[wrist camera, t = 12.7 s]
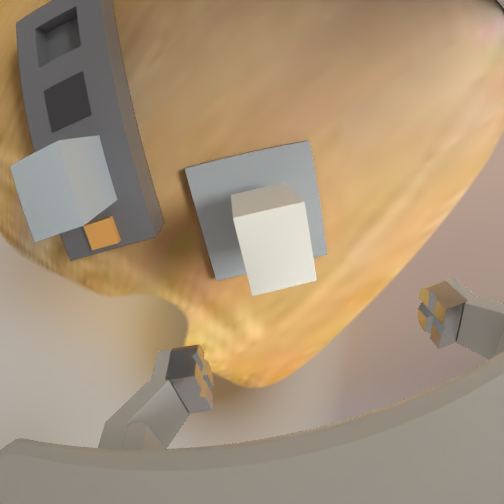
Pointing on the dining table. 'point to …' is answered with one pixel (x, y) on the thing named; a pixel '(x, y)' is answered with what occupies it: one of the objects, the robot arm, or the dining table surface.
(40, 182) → the block
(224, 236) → the rubber mat
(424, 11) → the dining table surface
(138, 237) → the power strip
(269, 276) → the block
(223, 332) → the dining table surface
